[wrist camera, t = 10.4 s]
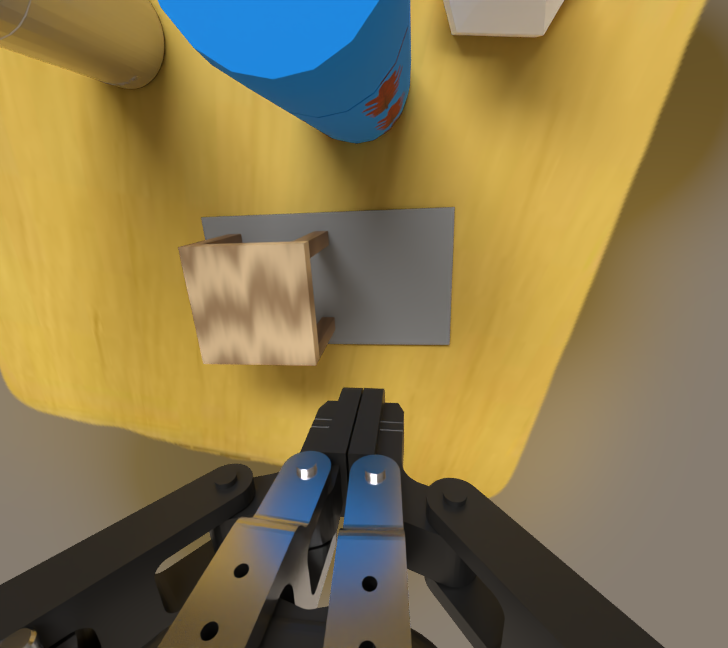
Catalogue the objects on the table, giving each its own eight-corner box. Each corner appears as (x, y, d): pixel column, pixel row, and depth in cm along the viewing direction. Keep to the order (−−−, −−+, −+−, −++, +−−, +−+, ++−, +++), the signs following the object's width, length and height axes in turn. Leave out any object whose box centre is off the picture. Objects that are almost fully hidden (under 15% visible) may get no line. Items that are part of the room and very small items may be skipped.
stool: (327, 230, 42) (228, 234, 43) (303, 243, 32) (177, 247, 34) (335, 329, 46) (244, 329, 48) (315, 365, 37) (203, 363, 38)
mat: (202, 217, 43) (201, 217, 43) (454, 207, 40) (454, 207, 39) (226, 341, 49) (225, 343, 49) (449, 343, 45) (449, 344, 45)
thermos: (362, 168, 39) (290, 142, 16) (283, 95, 38) (80, -48, 15) (434, 75, 36) (474, -132, 12) (350, -10, 34) (218, -424, 11)
